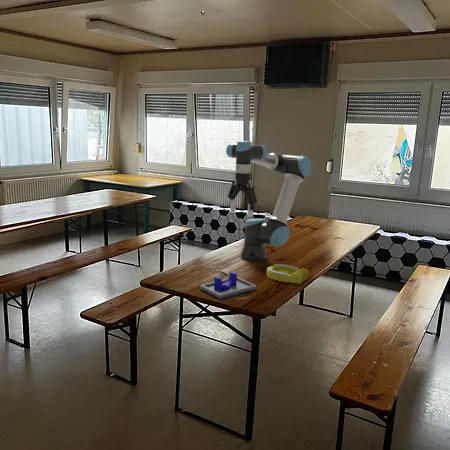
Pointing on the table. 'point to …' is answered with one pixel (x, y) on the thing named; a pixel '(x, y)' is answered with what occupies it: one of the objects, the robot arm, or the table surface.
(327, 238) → the table surface
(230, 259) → the table surface
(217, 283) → the blue long stepped piece
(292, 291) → the table surface
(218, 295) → the tray
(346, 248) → the table surface
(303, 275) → the yellow rounded low piece
